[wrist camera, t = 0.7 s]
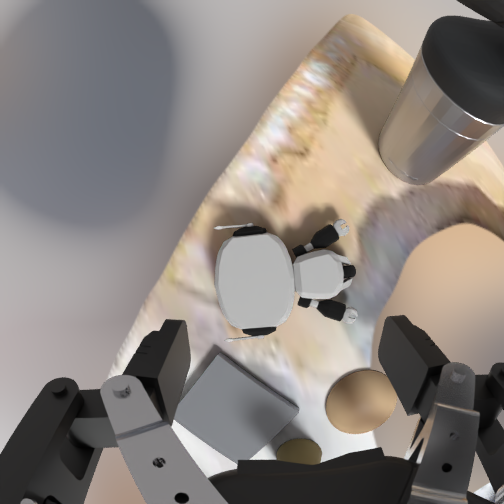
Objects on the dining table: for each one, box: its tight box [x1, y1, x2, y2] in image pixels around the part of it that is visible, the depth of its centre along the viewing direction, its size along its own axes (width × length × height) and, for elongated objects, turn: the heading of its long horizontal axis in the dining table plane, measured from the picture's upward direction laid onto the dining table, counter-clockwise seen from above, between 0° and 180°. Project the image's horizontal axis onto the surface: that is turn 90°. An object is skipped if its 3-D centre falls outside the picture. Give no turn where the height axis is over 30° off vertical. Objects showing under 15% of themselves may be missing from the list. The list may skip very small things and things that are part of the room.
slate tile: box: [174, 352, 299, 464], centre depth 32 cm, size 12×12×1 cm
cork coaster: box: [326, 369, 397, 434], centre depth 30 cm, size 9×9×1 cm
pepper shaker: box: [277, 439, 322, 465], centre depth 26 cm, size 6×6×11 cm
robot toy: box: [214, 219, 357, 342], centre depth 31 cm, size 12×4×15 cm
